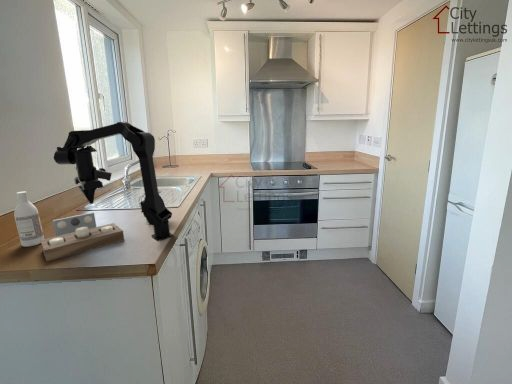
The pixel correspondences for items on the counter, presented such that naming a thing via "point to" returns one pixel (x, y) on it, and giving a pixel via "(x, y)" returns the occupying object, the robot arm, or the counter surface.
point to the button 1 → (56, 241)
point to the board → (81, 242)
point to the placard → (73, 223)
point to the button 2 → (106, 229)
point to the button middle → (82, 232)
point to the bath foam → (27, 221)
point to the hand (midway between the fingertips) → (91, 203)
